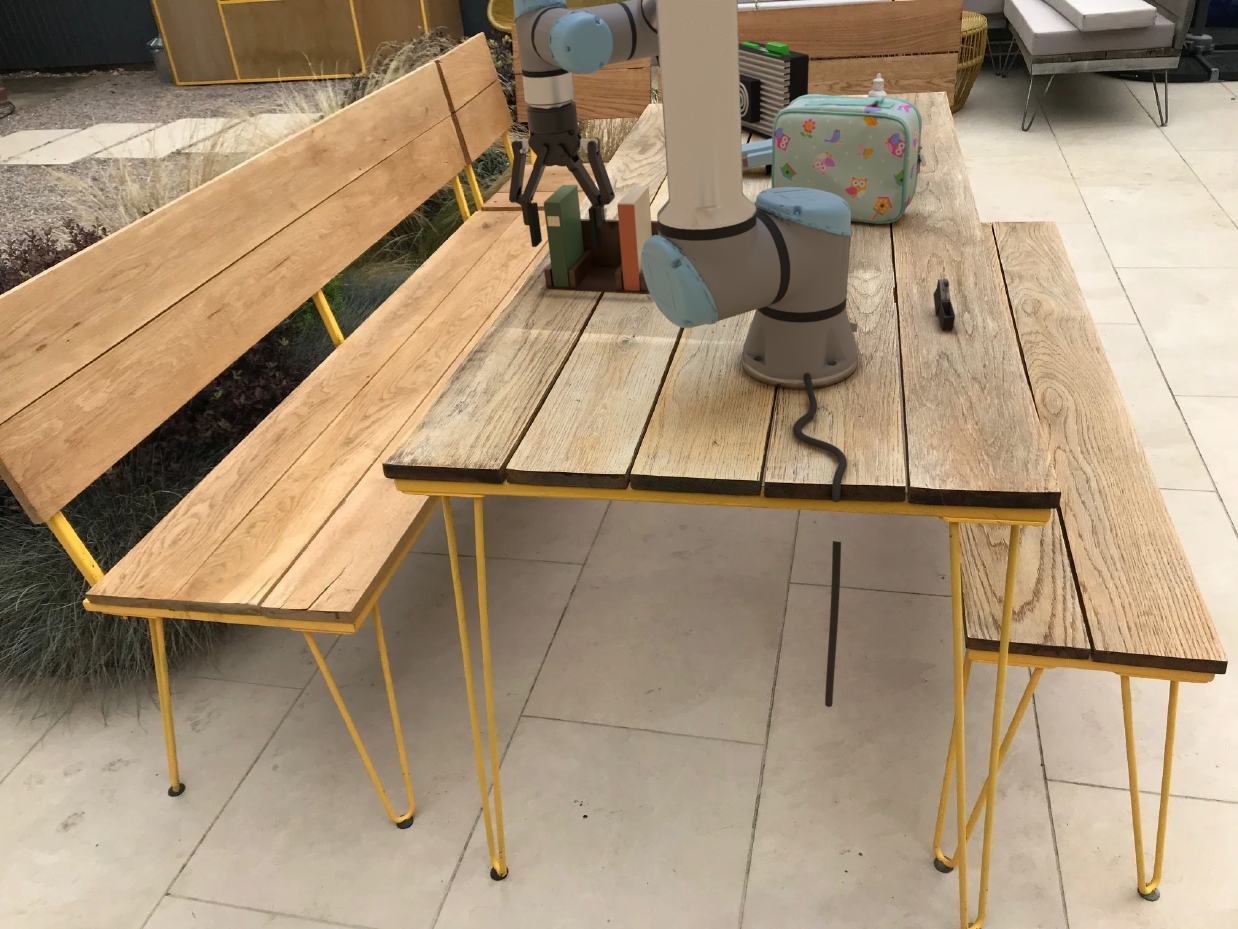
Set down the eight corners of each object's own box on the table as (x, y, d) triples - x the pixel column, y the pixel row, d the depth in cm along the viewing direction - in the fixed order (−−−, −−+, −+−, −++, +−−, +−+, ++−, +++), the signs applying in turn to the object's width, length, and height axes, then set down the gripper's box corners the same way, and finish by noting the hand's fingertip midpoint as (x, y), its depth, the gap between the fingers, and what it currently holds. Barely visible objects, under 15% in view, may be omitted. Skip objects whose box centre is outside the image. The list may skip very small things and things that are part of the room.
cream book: (639, 290, 151) (633, 203, 143) (624, 289, 151) (617, 203, 144) (654, 269, 157) (649, 185, 150) (638, 269, 158) (633, 185, 151)
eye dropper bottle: (865, 130, 222) (869, 76, 215) (866, 124, 226) (869, 71, 220) (885, 130, 221) (889, 75, 214) (884, 123, 226) (888, 70, 219)
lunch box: (924, 212, 173) (937, 89, 162) (908, 231, 166) (920, 104, 155) (787, 198, 186) (789, 83, 174) (766, 215, 179) (767, 96, 167)
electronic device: (710, 123, 238) (708, 37, 227) (747, 116, 242) (747, 31, 231) (771, 147, 216) (772, 53, 205) (811, 138, 220) (814, 45, 209)
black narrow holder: (953, 340, 136) (960, 321, 131) (938, 341, 136) (945, 321, 131) (947, 293, 139) (954, 272, 134) (932, 293, 139) (939, 273, 134)
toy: (680, 143, 206) (821, 117, 198) (687, 178, 210) (825, 155, 202) (675, 156, 198) (821, 130, 190) (682, 193, 202) (825, 169, 194)
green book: (568, 287, 154) (559, 202, 146) (553, 286, 155) (543, 202, 147) (585, 267, 161) (577, 184, 153) (571, 266, 162) (562, 184, 154)
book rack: (650, 301, 150) (646, 245, 145) (541, 295, 155) (534, 241, 150) (667, 274, 159) (664, 220, 153) (564, 269, 164) (558, 217, 159)
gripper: (628, 95, 142) (638, 238, 155) (492, 97, 149) (512, 234, 161) (614, 107, 137) (625, 255, 149) (472, 109, 143) (494, 251, 155)
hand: (566, 244), depth 155 cm, fingers open, 10 cm apart
